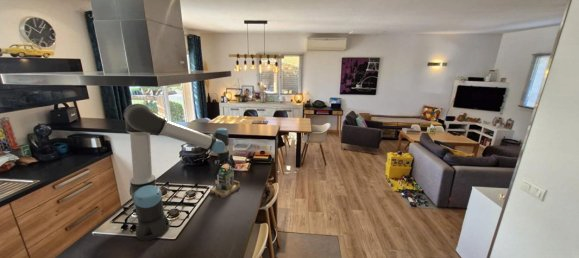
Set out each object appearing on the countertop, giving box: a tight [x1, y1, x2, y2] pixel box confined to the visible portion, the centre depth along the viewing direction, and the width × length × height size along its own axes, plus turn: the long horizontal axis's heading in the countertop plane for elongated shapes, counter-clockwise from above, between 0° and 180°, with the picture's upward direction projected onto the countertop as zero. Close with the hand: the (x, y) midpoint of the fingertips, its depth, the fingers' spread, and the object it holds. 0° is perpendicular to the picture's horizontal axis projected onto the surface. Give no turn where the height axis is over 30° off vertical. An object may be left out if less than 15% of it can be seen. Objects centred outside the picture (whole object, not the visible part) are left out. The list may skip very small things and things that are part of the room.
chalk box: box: [215, 166, 235, 191], centre depth 156 cm, size 9×9×15 cm
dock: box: [209, 179, 241, 199], centre depth 159 cm, size 16×12×5 cm
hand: (224, 179), depth 157 cm, fingers open, 13 cm apart
